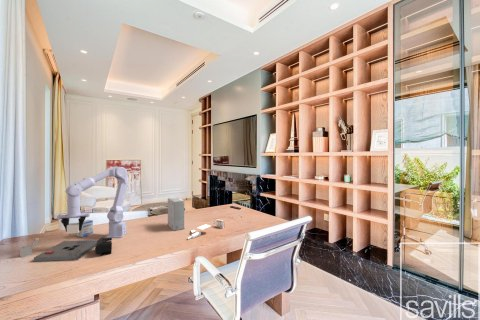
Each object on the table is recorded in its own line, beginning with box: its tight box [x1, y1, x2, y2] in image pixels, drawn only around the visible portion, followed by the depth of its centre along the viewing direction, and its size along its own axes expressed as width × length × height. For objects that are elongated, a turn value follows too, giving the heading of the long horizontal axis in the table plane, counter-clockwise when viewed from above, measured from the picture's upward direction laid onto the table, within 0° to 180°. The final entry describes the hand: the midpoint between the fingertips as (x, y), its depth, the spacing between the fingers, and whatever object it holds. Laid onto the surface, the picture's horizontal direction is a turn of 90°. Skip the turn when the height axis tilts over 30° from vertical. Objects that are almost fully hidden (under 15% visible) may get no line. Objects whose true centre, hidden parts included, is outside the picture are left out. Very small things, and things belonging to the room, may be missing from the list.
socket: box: [33, 239, 98, 262], centre depth 115 cm, size 20×20×2 cm
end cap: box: [94, 236, 113, 257], centre depth 115 cm, size 10×7×7 cm
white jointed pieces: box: [186, 218, 225, 240], centre depth 145 cm, size 10×6×30 cm
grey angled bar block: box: [19, 237, 40, 258], centre depth 112 cm, size 7×2×8 cm, turn 130°
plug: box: [66, 221, 80, 236], centre depth 121 cm, size 5×5×6 cm
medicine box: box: [76, 219, 94, 238], centre depth 139 cm, size 8×4×9 cm, turn 168°
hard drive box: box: [167, 197, 185, 231], centre depth 156 cm, size 16×8×20 cm, turn 34°
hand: (74, 230), depth 121 cm, fingers closed on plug, 5 cm apart
